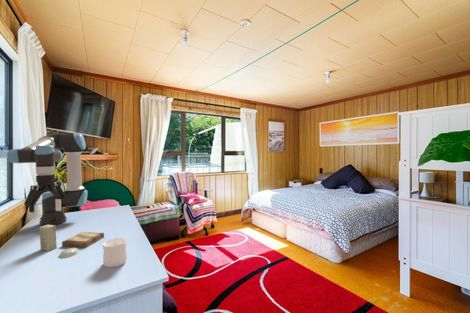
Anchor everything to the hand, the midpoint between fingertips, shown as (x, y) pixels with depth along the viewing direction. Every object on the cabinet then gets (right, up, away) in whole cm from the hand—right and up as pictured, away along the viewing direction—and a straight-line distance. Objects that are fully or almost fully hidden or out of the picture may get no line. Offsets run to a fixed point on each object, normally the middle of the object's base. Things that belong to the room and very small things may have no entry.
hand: (46, 214), depth 115 cm
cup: (+44, -19, -14) cm, 50 cm away
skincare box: (0, -19, +1) cm, 19 cm away
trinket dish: (+16, -19, -5) cm, 25 cm away
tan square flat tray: (+13, -18, +9) cm, 24 cm away
